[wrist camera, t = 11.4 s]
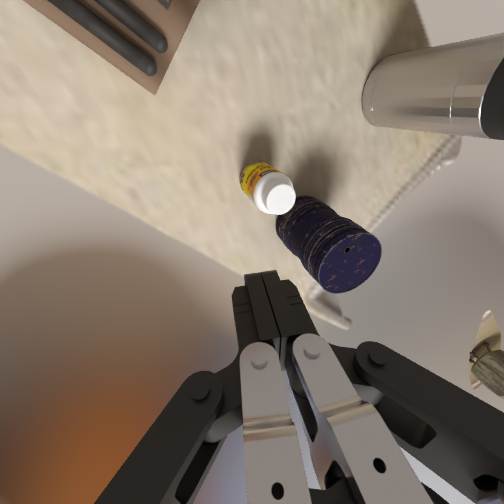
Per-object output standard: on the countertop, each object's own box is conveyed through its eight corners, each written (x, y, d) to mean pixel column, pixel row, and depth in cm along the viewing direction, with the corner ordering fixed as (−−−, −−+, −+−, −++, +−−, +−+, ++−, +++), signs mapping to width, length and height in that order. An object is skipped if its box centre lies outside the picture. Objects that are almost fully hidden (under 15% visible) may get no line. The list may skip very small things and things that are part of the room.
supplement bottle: (261, 152, 37) (290, 167, 28) (278, 182, 40) (308, 203, 32) (231, 174, 37) (251, 196, 29) (250, 202, 40) (273, 229, 32)
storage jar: (328, 229, 48) (384, 272, 36) (284, 253, 48) (326, 305, 36) (316, 184, 42) (379, 218, 30) (267, 211, 42) (310, 256, 30)
